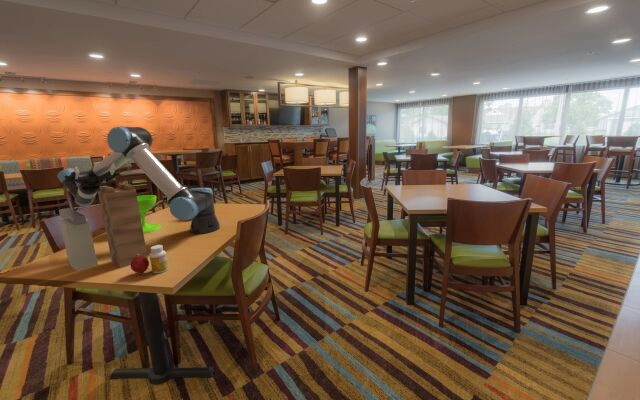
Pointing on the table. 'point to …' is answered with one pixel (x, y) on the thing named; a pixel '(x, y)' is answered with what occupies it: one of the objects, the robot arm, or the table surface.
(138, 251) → the stand
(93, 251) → the rest block
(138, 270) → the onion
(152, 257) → the supplement bottle
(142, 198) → the wineglass
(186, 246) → the table surface
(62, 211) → the bar
